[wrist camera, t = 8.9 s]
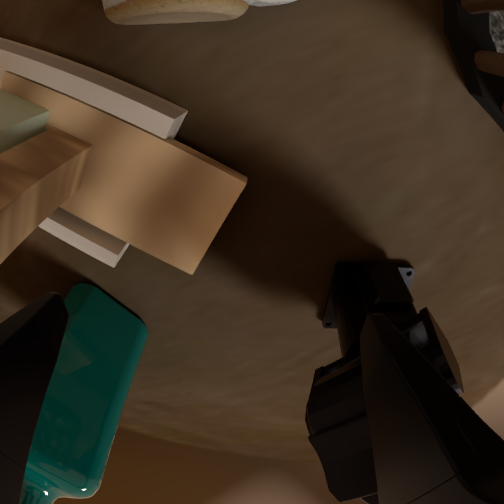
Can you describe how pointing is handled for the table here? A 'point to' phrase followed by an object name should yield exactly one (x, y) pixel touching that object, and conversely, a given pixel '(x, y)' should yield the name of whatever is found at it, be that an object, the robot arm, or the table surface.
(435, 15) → the table surface
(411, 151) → the table surface
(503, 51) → the lantern
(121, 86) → the lane board
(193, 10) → the ceramic mug
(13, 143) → the block
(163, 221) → the wooden stair steps
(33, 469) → the green bottle
